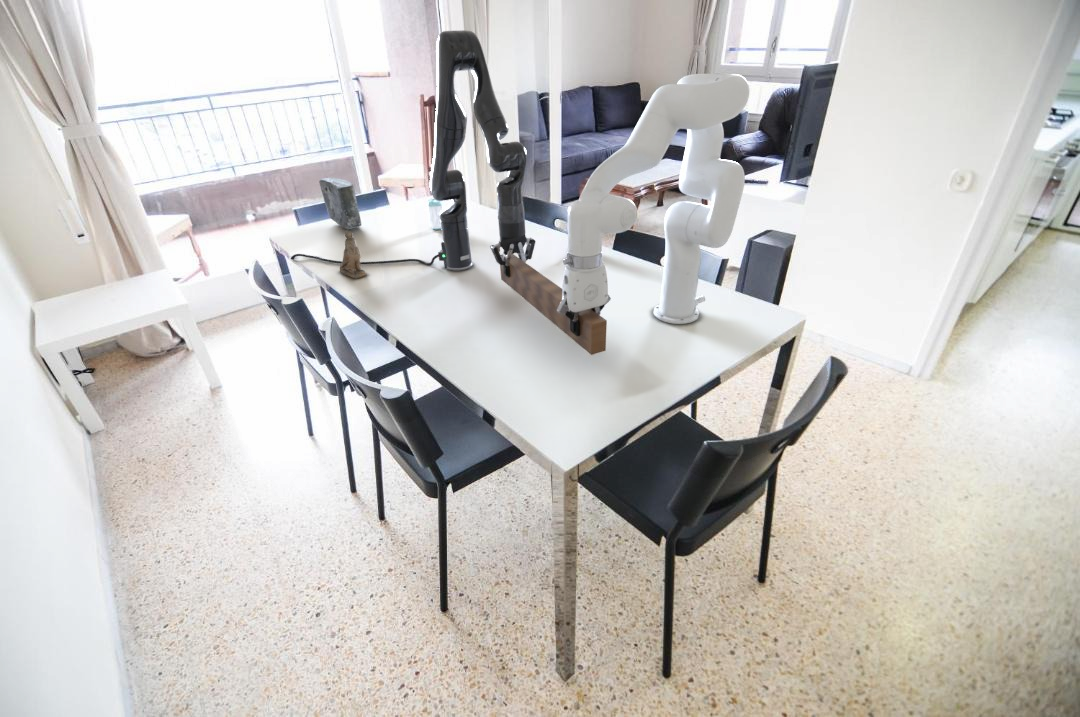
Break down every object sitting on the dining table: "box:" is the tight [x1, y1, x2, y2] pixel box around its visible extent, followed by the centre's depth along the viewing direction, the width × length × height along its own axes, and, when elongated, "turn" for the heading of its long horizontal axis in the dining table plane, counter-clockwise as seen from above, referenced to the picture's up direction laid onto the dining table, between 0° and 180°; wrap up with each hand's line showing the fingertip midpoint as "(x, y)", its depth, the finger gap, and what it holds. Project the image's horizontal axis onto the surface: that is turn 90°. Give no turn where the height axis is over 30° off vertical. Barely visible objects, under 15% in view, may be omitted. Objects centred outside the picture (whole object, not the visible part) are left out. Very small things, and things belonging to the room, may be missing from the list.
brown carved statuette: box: [339, 229, 367, 280], centre depth 174 cm, size 12×6×18 cm, turn 43°
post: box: [499, 253, 608, 356], centre depth 135 cm, size 53×4×8 cm, turn 27°
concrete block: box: [318, 176, 362, 230], centre depth 224 cm, size 27×9×20 cm, turn 36°
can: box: [426, 198, 445, 230], centre depth 220 cm, size 7×7×12 cm
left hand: (515, 274), depth 150 cm, fingers closed on post, 4 cm apart
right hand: (583, 330), depth 120 cm, fingers closed on post, 4 cm apart
